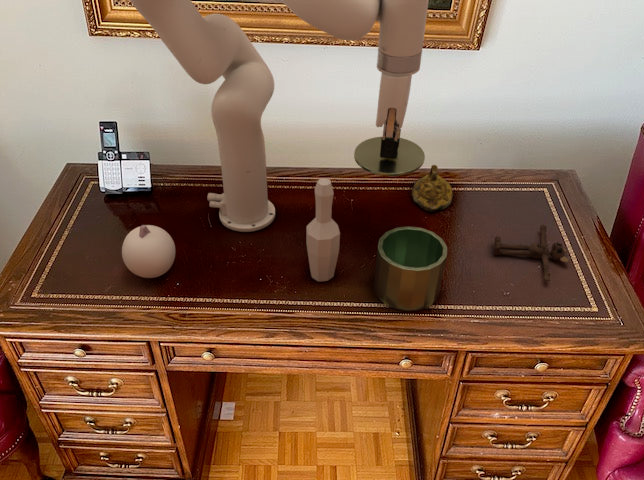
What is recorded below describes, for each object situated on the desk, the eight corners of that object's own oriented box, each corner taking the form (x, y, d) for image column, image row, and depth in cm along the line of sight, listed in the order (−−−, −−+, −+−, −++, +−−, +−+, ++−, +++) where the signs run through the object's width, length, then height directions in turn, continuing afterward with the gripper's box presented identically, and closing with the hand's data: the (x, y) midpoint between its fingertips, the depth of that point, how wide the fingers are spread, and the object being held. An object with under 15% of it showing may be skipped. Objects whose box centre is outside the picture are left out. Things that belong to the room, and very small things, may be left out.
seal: (452, 219, 141) (449, 181, 152) (458, 202, 138) (454, 164, 148) (411, 212, 141) (410, 175, 152) (416, 195, 138) (415, 158, 148)
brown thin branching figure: (495, 213, 136) (568, 216, 132) (493, 229, 138) (564, 233, 135) (495, 268, 123) (575, 273, 120) (493, 284, 126) (571, 289, 122)
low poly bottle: (315, 288, 124) (316, 195, 109) (300, 269, 128) (300, 177, 113) (343, 278, 126) (348, 186, 111) (328, 260, 130) (331, 168, 115)
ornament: (165, 292, 124) (155, 245, 116) (118, 282, 127) (105, 235, 118) (186, 259, 131) (178, 212, 123) (141, 251, 134) (130, 204, 125)
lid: (348, 174, 119) (350, 143, 115) (359, 138, 129) (361, 108, 124) (421, 182, 117) (426, 150, 112) (426, 145, 127) (430, 114, 122)
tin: (370, 306, 120) (374, 265, 113) (377, 263, 129) (382, 223, 122) (436, 315, 118) (445, 274, 111) (440, 272, 127) (448, 230, 120)
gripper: (382, 38, 115) (375, 129, 128) (371, 78, 104) (364, 173, 117) (424, 41, 114) (412, 132, 127) (417, 81, 103) (405, 177, 116)
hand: (389, 151), depth 122 cm, fingers closed on lid, 3 cm apart
